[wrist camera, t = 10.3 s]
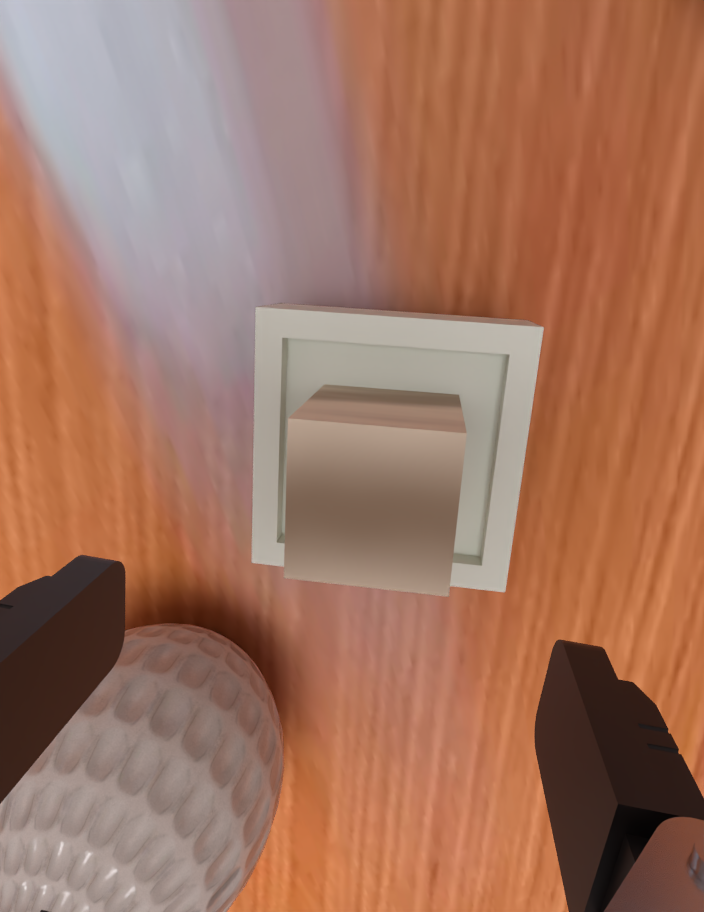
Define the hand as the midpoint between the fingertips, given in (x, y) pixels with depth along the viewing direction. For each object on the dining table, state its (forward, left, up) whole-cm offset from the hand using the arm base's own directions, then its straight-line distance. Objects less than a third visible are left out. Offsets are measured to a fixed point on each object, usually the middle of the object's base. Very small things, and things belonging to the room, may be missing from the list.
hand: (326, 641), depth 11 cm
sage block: (0, 0, -16) cm, 16 cm away
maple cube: (0, 0, -13) cm, 13 cm away
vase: (+17, -9, -20) cm, 28 cm away
